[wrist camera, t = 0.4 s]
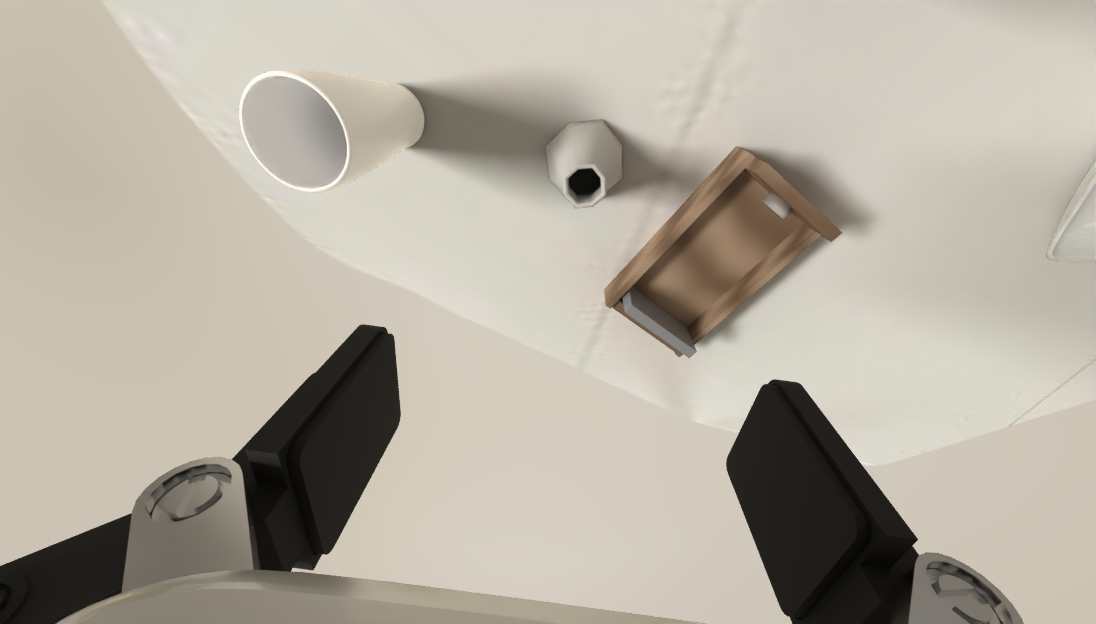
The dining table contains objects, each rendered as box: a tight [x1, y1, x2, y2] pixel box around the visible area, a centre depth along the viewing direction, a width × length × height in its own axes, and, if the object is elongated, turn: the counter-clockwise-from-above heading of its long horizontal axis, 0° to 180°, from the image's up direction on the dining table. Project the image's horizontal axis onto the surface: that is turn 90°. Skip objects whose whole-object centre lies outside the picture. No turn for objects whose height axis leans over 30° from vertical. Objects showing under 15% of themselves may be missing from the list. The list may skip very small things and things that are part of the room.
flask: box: [546, 119, 623, 208], centre depth 33 cm, size 7×7×10 cm
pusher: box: [622, 287, 697, 358], centre depth 41 cm, size 1×8×5 cm, turn 54°
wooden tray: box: [604, 147, 842, 357], centre depth 38 cm, size 18×10×6 cm, turn 144°
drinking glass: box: [239, 70, 425, 193], centre depth 30 cm, size 7×7×15 cm
